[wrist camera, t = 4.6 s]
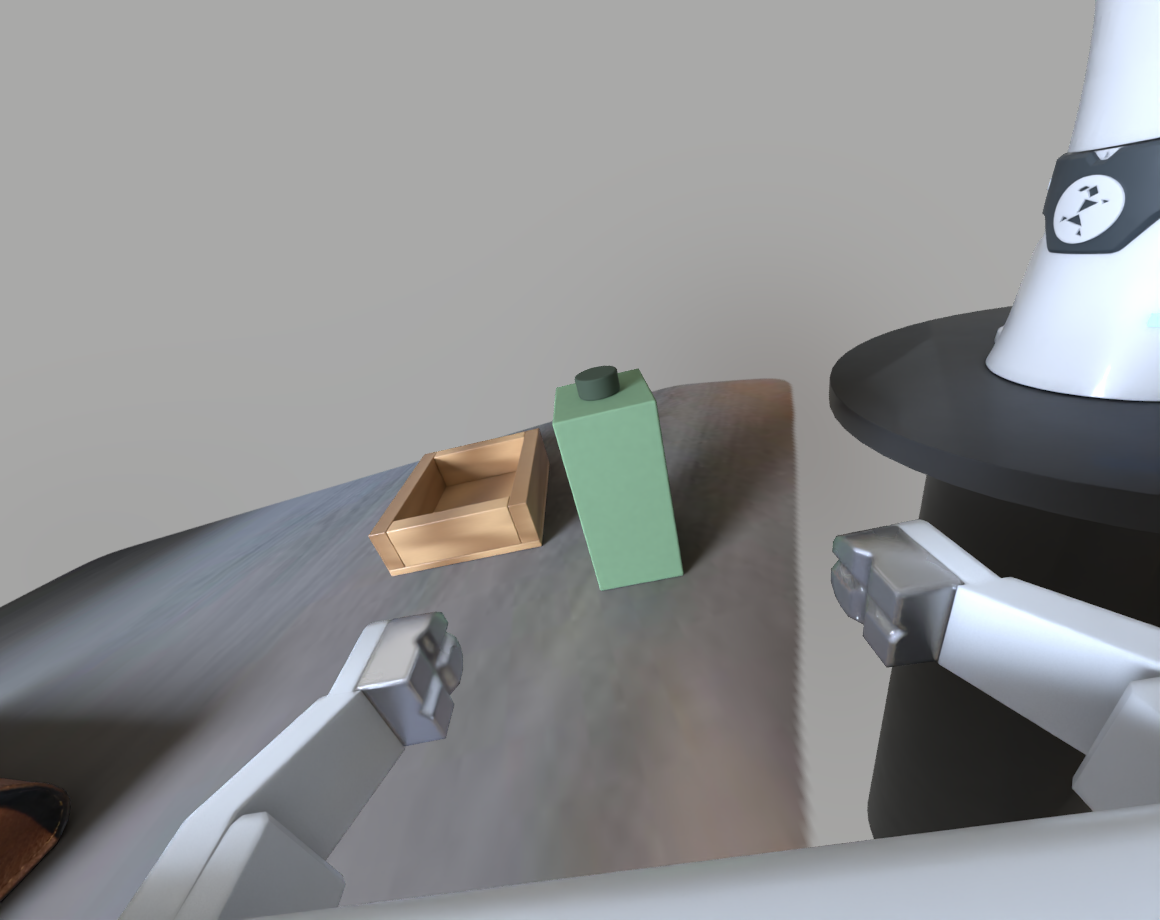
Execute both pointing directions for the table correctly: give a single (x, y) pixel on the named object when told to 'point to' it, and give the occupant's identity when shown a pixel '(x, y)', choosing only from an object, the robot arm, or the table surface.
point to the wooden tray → (467, 505)
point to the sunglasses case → (28, 827)
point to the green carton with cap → (618, 475)
